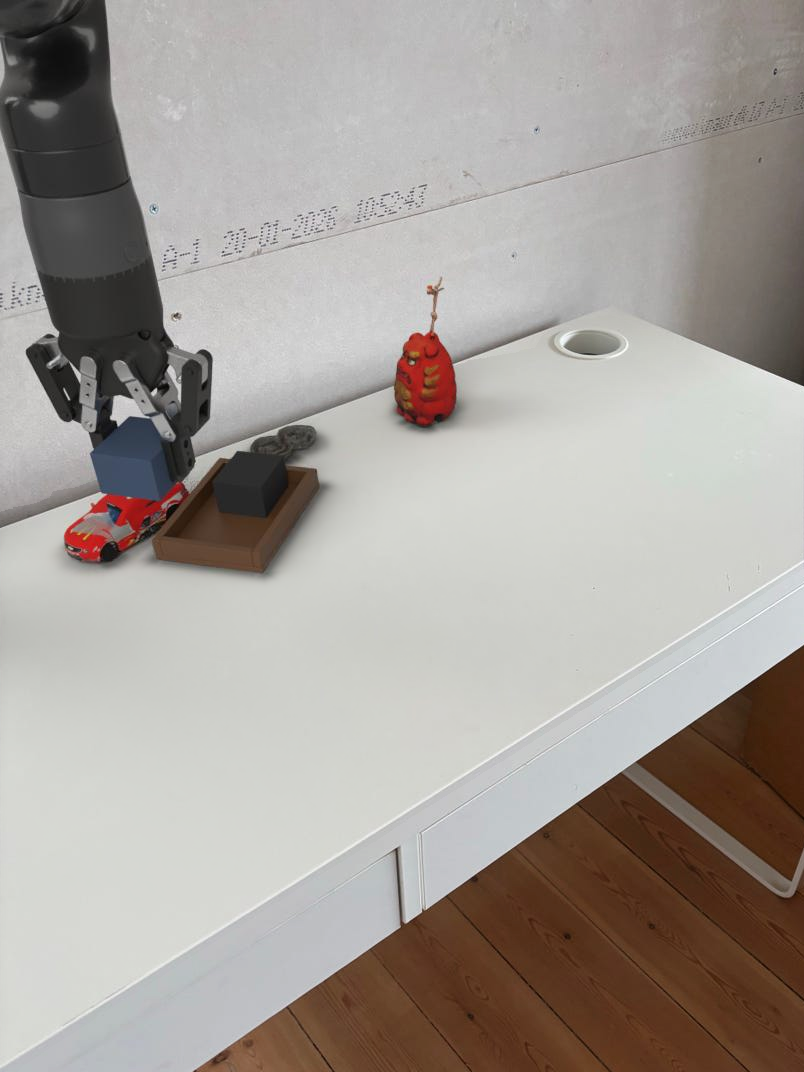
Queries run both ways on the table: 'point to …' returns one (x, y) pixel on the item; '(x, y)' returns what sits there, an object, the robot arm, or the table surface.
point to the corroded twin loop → (285, 440)
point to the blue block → (133, 461)
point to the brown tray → (232, 525)
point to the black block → (251, 484)
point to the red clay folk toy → (425, 376)
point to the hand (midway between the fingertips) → (148, 472)
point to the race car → (119, 524)
